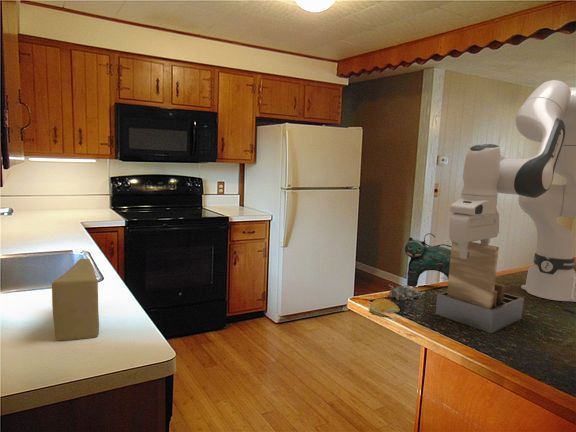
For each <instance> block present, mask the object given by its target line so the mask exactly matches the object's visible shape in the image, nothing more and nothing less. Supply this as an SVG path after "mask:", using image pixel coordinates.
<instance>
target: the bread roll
mask: <svg viewBox="0 0 576 432" xmlns="http://www.w3.org/2000/svg"><path fill="white" fill-rule="evenodd" d="M369 311H370V312H371V313H373V314H374V315H375V316H377V317H380V318H390V316H389V315H386V314H387V313H398V312H400V311H401V310H400V308H399V306H398V305H397V304H396V303H395V302H393V301H392V300H391V299H388V298H376V299H374V300H373V301H372V302H370V304H369ZM384 313H385V314H384Z"/></svg>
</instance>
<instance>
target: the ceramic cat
mask: <svg viewBox="0 0 576 432" xmlns="http://www.w3.org/2000/svg"><path fill="white" fill-rule="evenodd" d="M428 235H431V236H432V237H434V238H436V236H435V235H434V234H433V233H429V232H428V233H426V234H425V235H424V237H423V241H421V240H420V239H413V238H412V236H411V237H409V238H408V241H407V243H406V245H405V247H404V253H405V254H406V255H407V256H408V257H409V258H410V260H409V262H408V264H407V265H408V267H407V269H408V270H407V273H406V275H407V277H406V279H407V281H406V283H407V284H406V286H409V287H411V288H415V287H417V286H418V282H419V278H420V276H421V275H422V274H423V273H424V272H426V271H435V272H439V273H442V274H443V275H445V276H446V278H447V280H448V279H449V268H450V257H451V246H452V245H449V244H442V243H441V244H435V245H429V244H428V243H426V236H428ZM443 246H446V247H443ZM448 247H449V248H448Z"/></svg>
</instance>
